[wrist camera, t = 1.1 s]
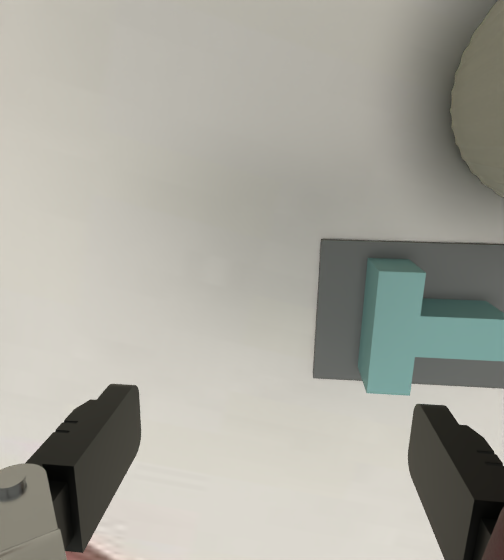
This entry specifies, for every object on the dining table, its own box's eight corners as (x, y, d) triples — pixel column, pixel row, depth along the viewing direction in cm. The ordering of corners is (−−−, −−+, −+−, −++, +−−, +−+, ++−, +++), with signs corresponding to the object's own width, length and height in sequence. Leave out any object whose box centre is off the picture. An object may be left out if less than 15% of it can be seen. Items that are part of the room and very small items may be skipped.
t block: (367, 258, 31) (378, 271, 27) (493, 261, 30) (522, 276, 26) (357, 366, 33) (366, 393, 29) (473, 372, 32) (498, 400, 29)
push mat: (321, 239, 31) (321, 240, 31) (723, 250, 29) (729, 251, 28) (313, 375, 34) (313, 378, 34) (674, 395, 32) (679, 398, 32)
